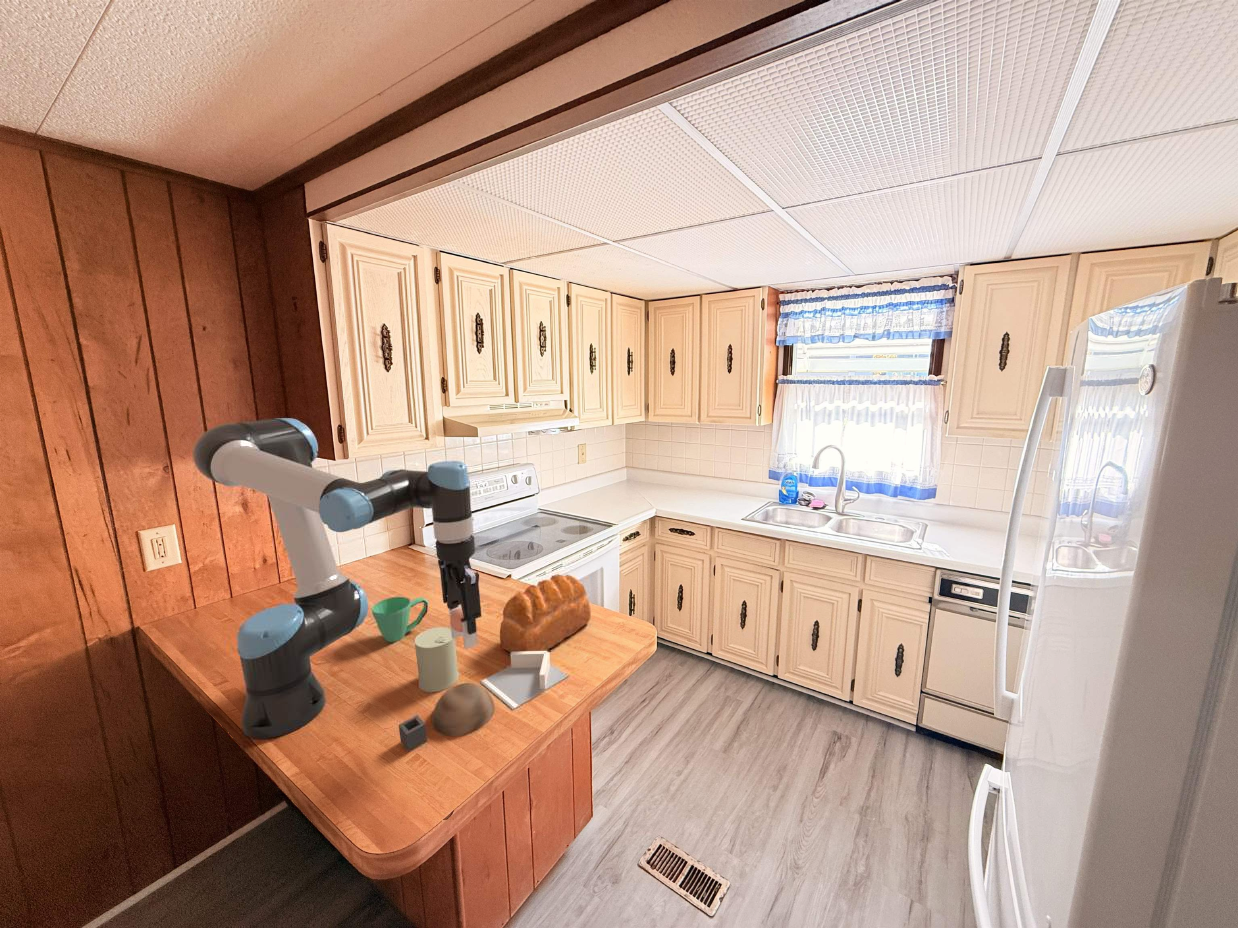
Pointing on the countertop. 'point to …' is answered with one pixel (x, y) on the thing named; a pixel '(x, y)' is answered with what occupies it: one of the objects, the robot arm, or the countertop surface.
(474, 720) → the dome
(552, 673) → the grey walled tray
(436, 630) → the can
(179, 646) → the countertop surface
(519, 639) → the bread
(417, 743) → the dark grey hollow cube
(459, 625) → the ball
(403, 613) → the mug
